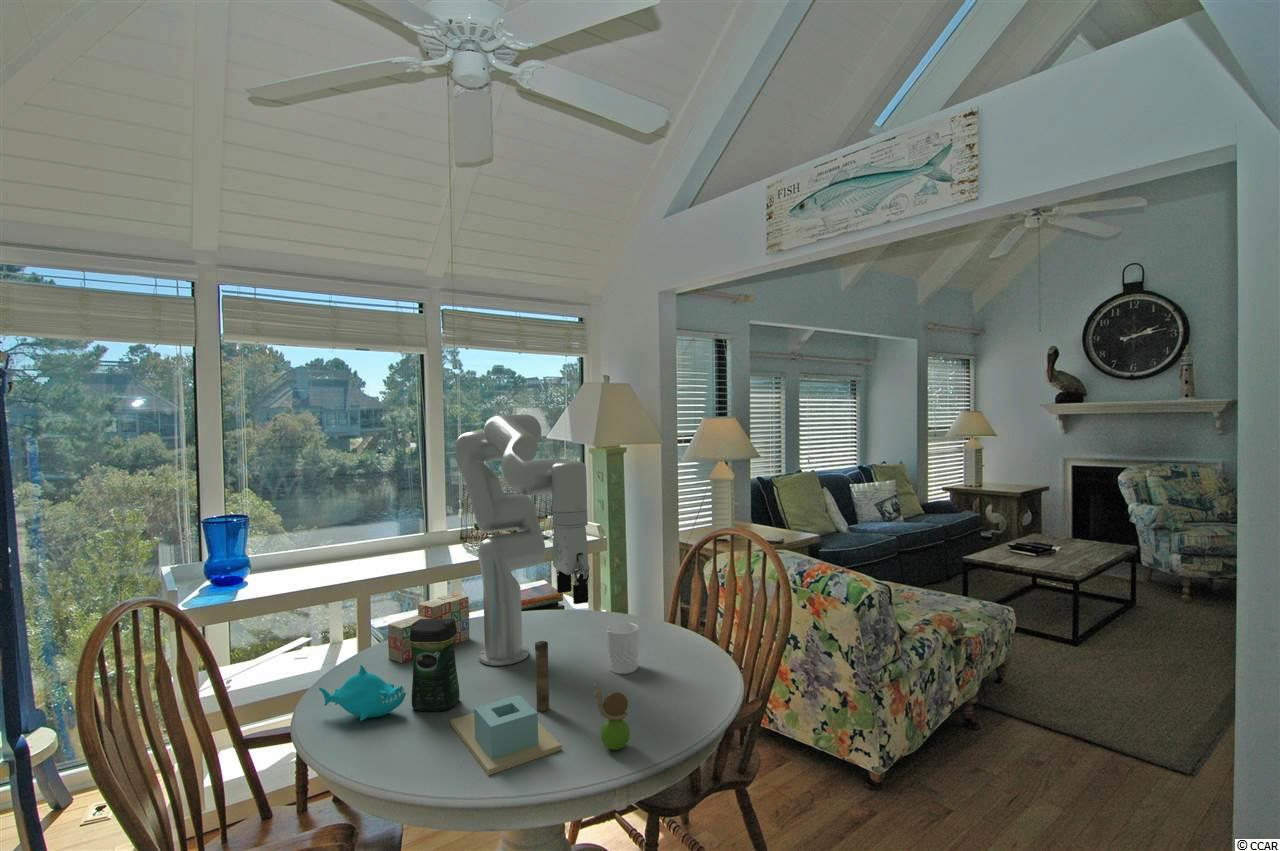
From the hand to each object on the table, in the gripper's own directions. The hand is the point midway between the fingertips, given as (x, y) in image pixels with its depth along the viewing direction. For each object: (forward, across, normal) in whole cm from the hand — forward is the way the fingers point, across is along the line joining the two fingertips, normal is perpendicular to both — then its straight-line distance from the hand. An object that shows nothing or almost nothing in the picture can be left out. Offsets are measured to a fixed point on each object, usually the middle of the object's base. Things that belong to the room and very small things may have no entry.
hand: (572, 597), depth 135 cm
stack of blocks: (+23, -50, -22) cm, 59 cm away
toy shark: (+23, -16, -41) cm, 50 cm away
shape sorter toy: (+23, +7, -18) cm, 30 cm away
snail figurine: (+23, +22, -1) cm, 31 cm away
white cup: (+23, -10, +17) cm, 30 cm away
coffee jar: (+23, -14, -27) cm, 38 cm away
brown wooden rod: (+22, 0, -7) cm, 24 cm away
